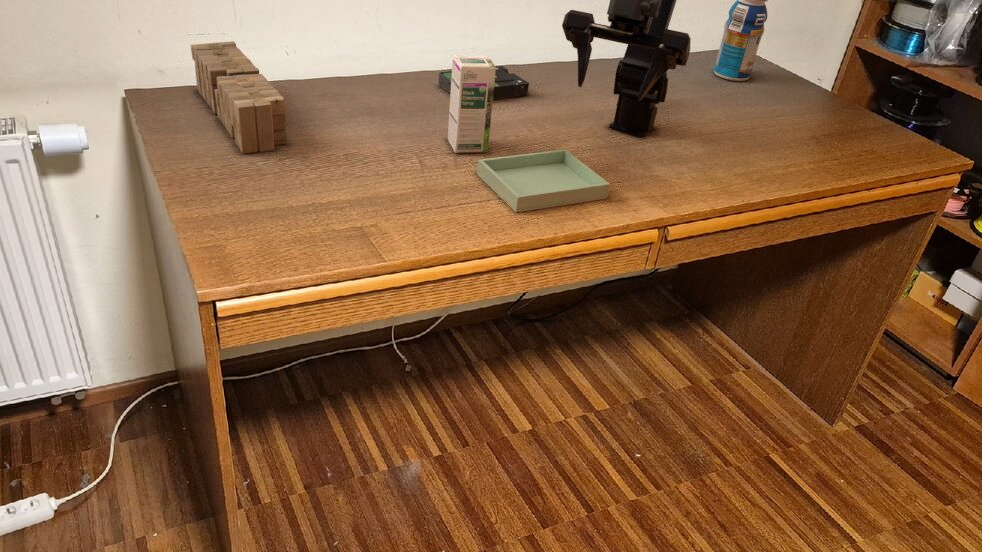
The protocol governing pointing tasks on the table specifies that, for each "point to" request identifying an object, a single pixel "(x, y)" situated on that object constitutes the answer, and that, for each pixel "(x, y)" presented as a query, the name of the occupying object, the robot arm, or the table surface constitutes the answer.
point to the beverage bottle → (741, 39)
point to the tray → (542, 180)
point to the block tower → (240, 96)
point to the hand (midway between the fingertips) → (609, 92)
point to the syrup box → (471, 103)
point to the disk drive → (495, 83)
